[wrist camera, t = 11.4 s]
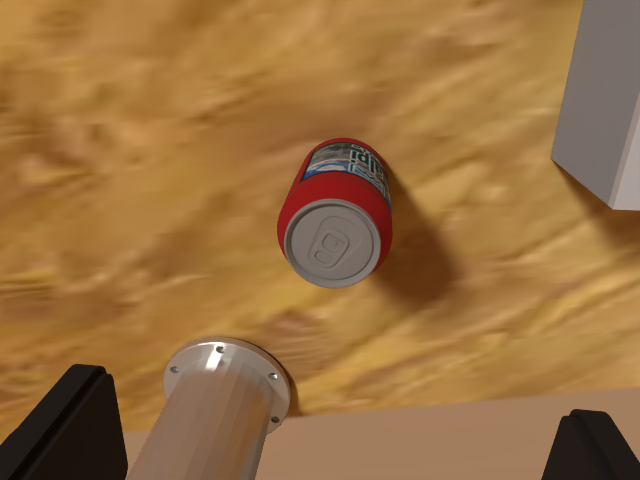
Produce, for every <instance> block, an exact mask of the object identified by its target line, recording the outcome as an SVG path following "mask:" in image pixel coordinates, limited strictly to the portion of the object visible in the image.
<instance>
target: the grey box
mask: <svg viewBox="0 0 640 480" xmlns="http://www.w3.org/2000/svg"><path fill="white" fill-rule="evenodd" d="M551 159H552V160H554V161H555V162H556V163H557V164H558V165H560V166H561V167H562V168H563V169H564V170H566V171H567V172H568V173H569V174H570V175H572V176H573V177H574V178H575V179H576V180H578V181H579V182H580V183H581V184H583V185H584V186H585V187H586V188H587V189H589V190H590V191H591V192H592V193H593V194H595V195H596V196H597V197H598V198H599V199H601V200H602V201H603V202H604V203H606V204H607V205H608V206H609V207H610V208H612V209H613V210H640V0H584V4H583V9H582V13H581V18H580V23H579V27H578V32H577V37H576V41H575V46H574V51H573V55H572V60H571V65H570V69H569V74H568V79H567V84H566V88H565V93H564V98H563V102H562V107H561V112H560V116H559V121H558V126H557V130H556V135H555V140H554V144H553V149H552V154H551Z"/></svg>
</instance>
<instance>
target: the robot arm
mask: <svg viewBox="0 0 640 480" xmlns="http://www.w3.org/2000/svg"><path fill="white" fill-rule="evenodd" d="M163 389H164V394H165V397H166V399H167V402H166V404H165V406H164V408H163V409H162V411H161V413H160V415H159V417H158V419H157V421H156V423H155V425H154V426H153V428H152V430H151V432H150V434H149V436H148V438H147V440H146V442H145V444H144V445H143V447H142V449H141V451H140V453H139V455H138V457H137V459H136V461H135V462H134V464H133V466H132V468H131V470H130V472H129V474H128V476H127V478H126V475H127V470H128V462H127V455H126V450H125V444H124V438H123V432H122V426H121V421H120V415H119V409H118V403H117V397H116V392H115V386H114V380H113V376H112V375H111V374H107V373H106V370H105V368H104V367H102V366H94V365H83V364H75V365H72V366H71V367H70V368H69V369H68V370H67V371H66V373H65V374H64V375H63V376H62V377H61V378H60V379H59V381H58V382H57V383H56V384H55V385H54V386H53V387H52V389H51V390H50V391H49V392H48V393H47V394H46V396H45V397H44V398H43V399H42V400H41V401H40V402H39V404H38V405H37V406H36V407H35V408H34V409H33V410H32V412H31V413H30V414H29V415H28V416H27V417H26V419H25V420H24V421H23V422H22V423H21V424H20V425H19V427H18V428H17V429H15V430H14V431H13V432H12V433H11V434H10V435H9V436H8V437H7V438H6V440H5V441H4V442H3V443H2V444H1V445H0V480H255V476H256V472H257V468H258V464H259V460H260V457H261V453H262V449H263V445H264V441H265V437H266V435H267V434H269V433H271V432H272V431H274V430H275V429H276V428H277V427H278V426H280V425H281V423H282V422H283V420H284V419H285V418H286V415H287V413H288V410H289V406H290V400H291V388H290V384H289V381H288V378H287V376H286V374H285V372H284V371H283V369H282V368H281V367H280V365H279V364H278V363H277V362H276V361H275V360H274V359H273V358H272V357H271V356H270V355H269V354H267V353H266V352H264V351H263V350H261V349H260V348H258V347H256V346H254V345H252V344H249V343H247V342H245V341H241V340H237V339H233V338H226V337H208V338H203V339H199V340H195V341H193V342H191V343H188V344H186V345H185V346H183V347H182V348H181V349H179V350H178V351H177V352H176V353H175V355H174V356H173V357H172V358H171V360H170V362H169V363H168V365H167V367H166V370H165V373H164V376H163ZM125 478H126V479H125ZM541 480H640V462H639V461H638V459H637V458H636V457H635V455H634V453H633V452H632V450H631V448H630V447H629V445H628V444H627V442H626V440H625V439H624V437H623V436H622V434H621V433H620V431H619V429H618V428H617V426H616V425H615V423H614V422H613V420H612V418H611V417H610V416H609V415H608V414H607V413H606V412H602V411H591V410H580V409H574V410H572V411H571V413H570V415H569V416H563V417H562V419H561V421H560V424H559V427H558V430H557V433H556V436H555V439H554V442H553V445H552V448H551V452H550V454H549V458H548V461H547V464H546V467H545V470H544V473H543V476H542V479H541Z"/></svg>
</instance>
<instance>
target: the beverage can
mask: <svg viewBox="0 0 640 480" xmlns="http://www.w3.org/2000/svg"><path fill="white" fill-rule="evenodd" d="M277 236H278V241H279V245H280V247H281V250H282V252H283V254H284V256H285V257H286V259H287V260H288V262H289V263H290V265H291V267H292V268H293V269H294V271H295V272H296V273H297V274H298V275H299V276H301V277H302V278H303V279H305V280H306V281H308V282H310V283H312V284H314V285H317V286H320V287H325V288H344V287H348V286H351V285H354V284H356V283H358V282H360V281H362V280H363V279H364V278H366V277H367V276H368V275H369V274H371V273H372V272H373V271H375V270H376V269H377V268H378V267H379V266H380V265H381V263H382V262H383V261H384V259H385V258H386V256H387V254H388V252H389V249H390V246H391V242H392V217H391V204H390V193H389V184H388V177H387V171H386V168H385V165H384V163H383V161H382V159H381V158H380V156H379V155H378V154H377V152H376V151H375V150H374V149H372V148H371V147H370V146H368V145H367V144H365V143H363V142H361V141H358V140H355V139H350V138H336V139H331V140H328V141H325V142H323V143H321V144H320V145H318V146H317V147H315V148H314V149H313V150H312V151H311V152H310V153H309V154H308V156H307V157H306V159H305V160H304V162H303V164H302V166H301V168H300V170H299V172H298V174H297V176H296V178H295V180H294V182H293V185H292V187H291V189H290V191H289V193H288V196H287V198H286V200H285V203H284V205H283V207H282V210H281V212H280V215H279V218H278V224H277Z"/></svg>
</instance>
